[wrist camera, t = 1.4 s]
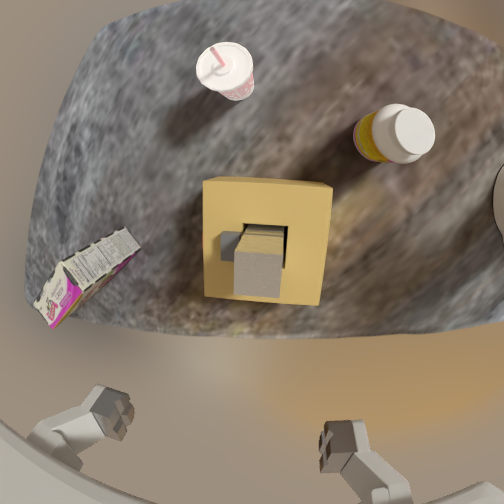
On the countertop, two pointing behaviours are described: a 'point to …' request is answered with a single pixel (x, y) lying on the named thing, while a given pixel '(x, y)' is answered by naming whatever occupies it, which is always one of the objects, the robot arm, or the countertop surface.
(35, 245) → the countertop surface
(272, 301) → the housing
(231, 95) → the beverage cup
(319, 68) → the countertop surface
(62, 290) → the candy bar box
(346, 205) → the countertop surface
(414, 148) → the supplement bottle
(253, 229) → the column
